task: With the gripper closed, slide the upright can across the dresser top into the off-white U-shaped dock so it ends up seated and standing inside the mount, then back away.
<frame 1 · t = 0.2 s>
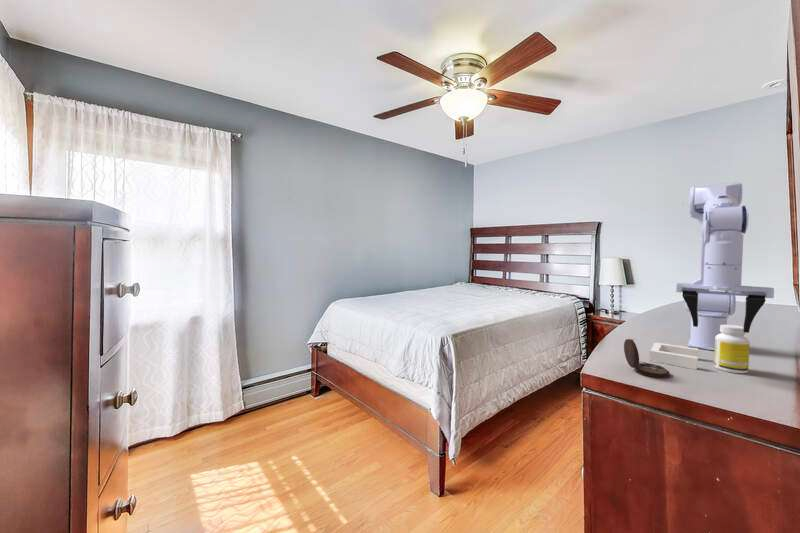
hand: (719, 328, 70), 10 cm above the table, fingers open, 7 cm apart
compass: (645, 372, 73), on the table
can dock: (678, 360, 80), on the table
supplement bottle: (730, 370, 74), on the table
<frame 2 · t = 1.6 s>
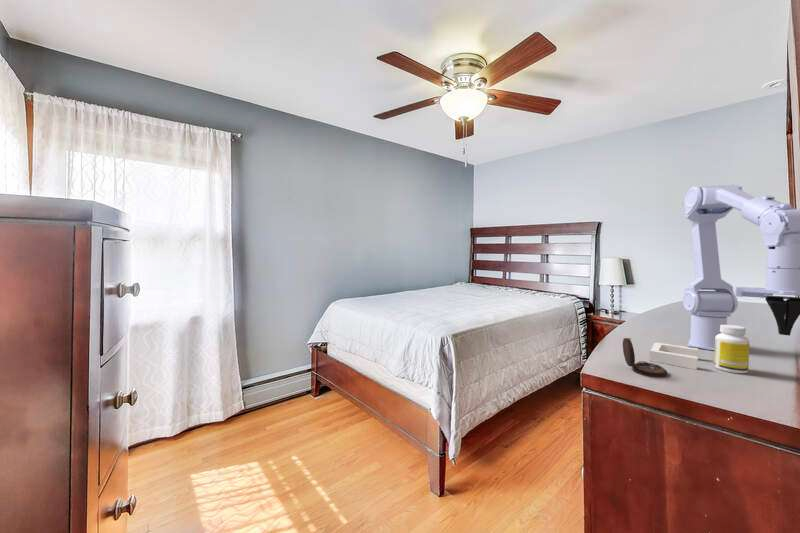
hand: (784, 334, 68), 9 cm above the table, fingers closed
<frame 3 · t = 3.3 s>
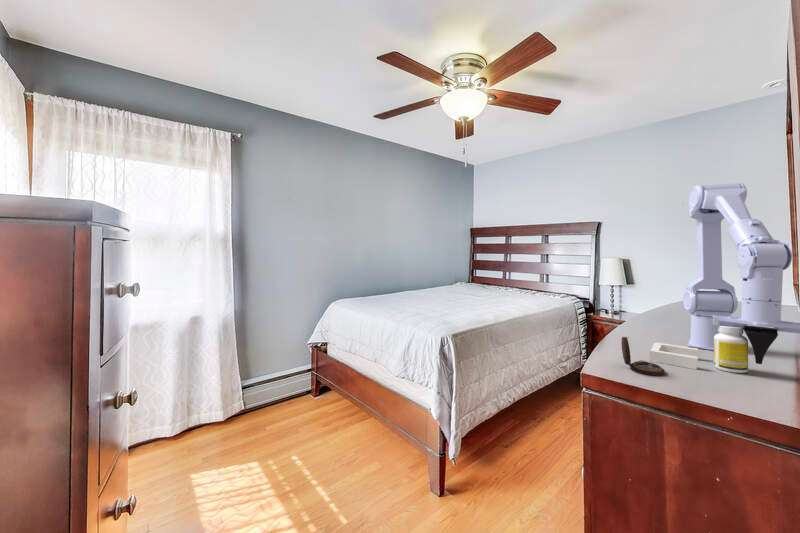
hand: (758, 362, 71), 3 cm above the table, fingers closed
supplement bottle: (730, 370, 74), on the table, touching gripper
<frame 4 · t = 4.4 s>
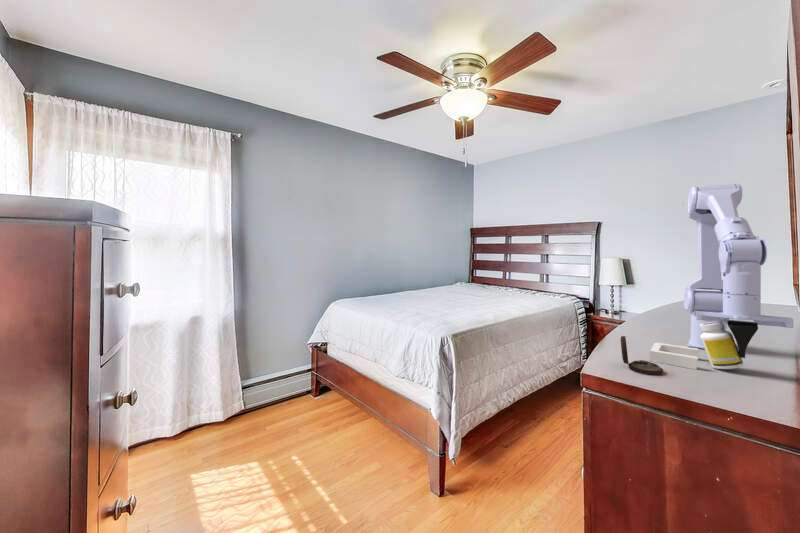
hand: (740, 356, 72), 3 cm above the table, fingers closed, pressing on supplement bottle
supplement bottle: (728, 367, 74), point 1 cm above the table, touching gripper
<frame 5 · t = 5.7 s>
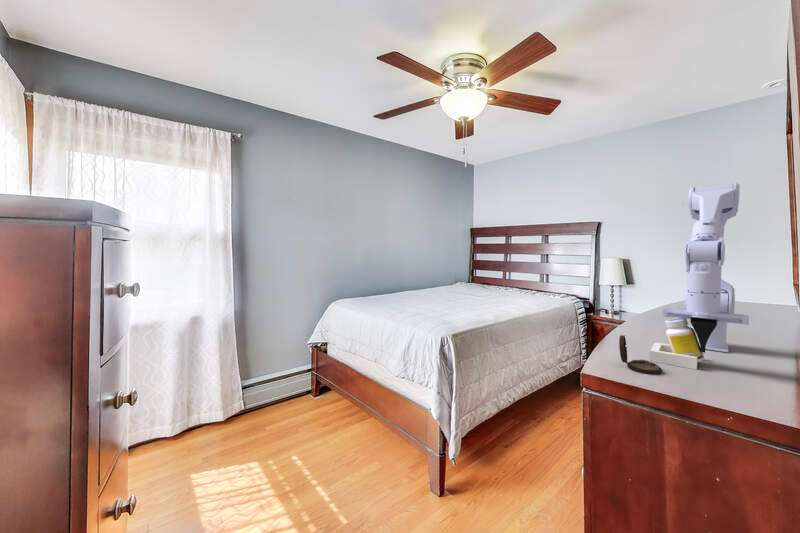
hand: (701, 351, 76), 3 cm above the table, fingers closed, pressing on supplement bottle
supplement bottle: (690, 361, 78), on the table, touching gripper
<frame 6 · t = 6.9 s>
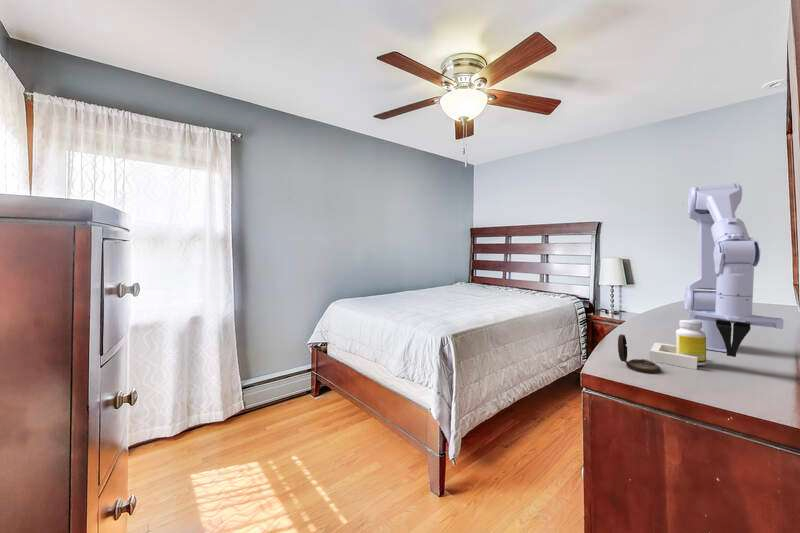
hand: (731, 355, 74), 3 cm above the table, fingers closed
supplement bottle: (690, 363, 78), on the table
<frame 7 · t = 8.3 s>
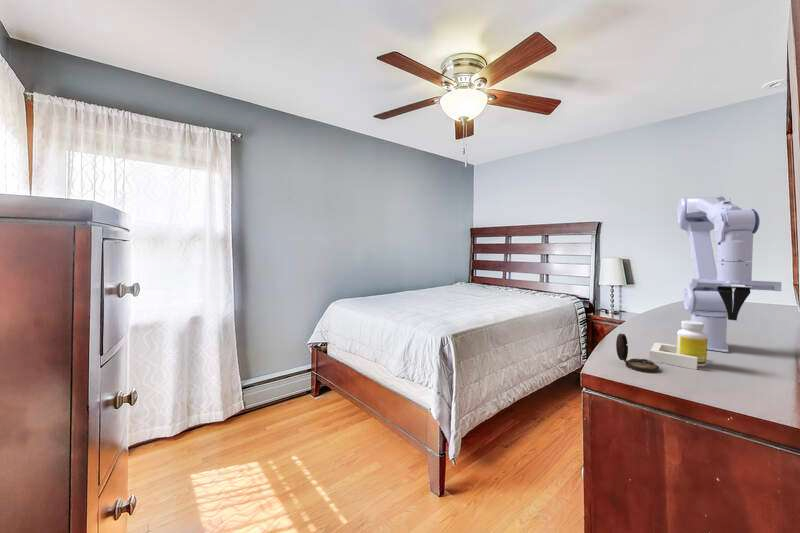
hand: (732, 319, 77), 10 cm above the table, fingers closed
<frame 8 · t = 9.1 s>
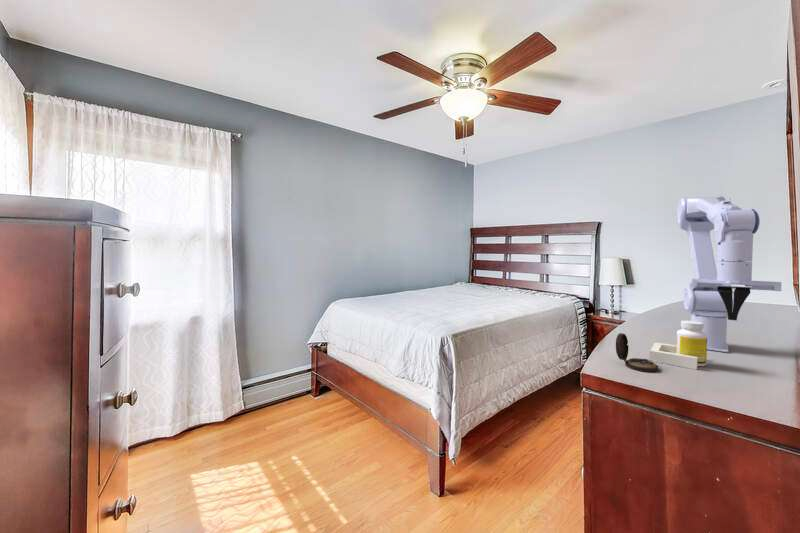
hand: (732, 319, 77), 10 cm above the table, fingers closed
at the end: supplement bottle 2.3 cm off-centre on the can dock, point 0.0 cm above the can dock's base; supplement bottle tilted 1°; the gripper is holding nothing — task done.
